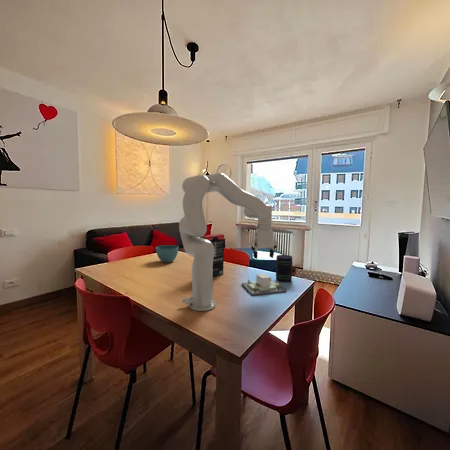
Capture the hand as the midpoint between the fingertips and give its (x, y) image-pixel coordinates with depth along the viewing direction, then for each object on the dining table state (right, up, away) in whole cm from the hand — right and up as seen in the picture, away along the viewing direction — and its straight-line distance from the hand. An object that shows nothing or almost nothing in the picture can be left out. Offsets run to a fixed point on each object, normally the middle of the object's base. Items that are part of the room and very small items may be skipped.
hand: (263, 257), depth 127 cm
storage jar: (+16, -17, +17) cm, 28 cm away
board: (0, -17, +2) cm, 17 cm away
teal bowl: (-69, -12, +60) cm, 92 cm away
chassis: (0, -18, +2) cm, 18 cm away
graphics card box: (-30, -16, +24) cm, 42 cm away
